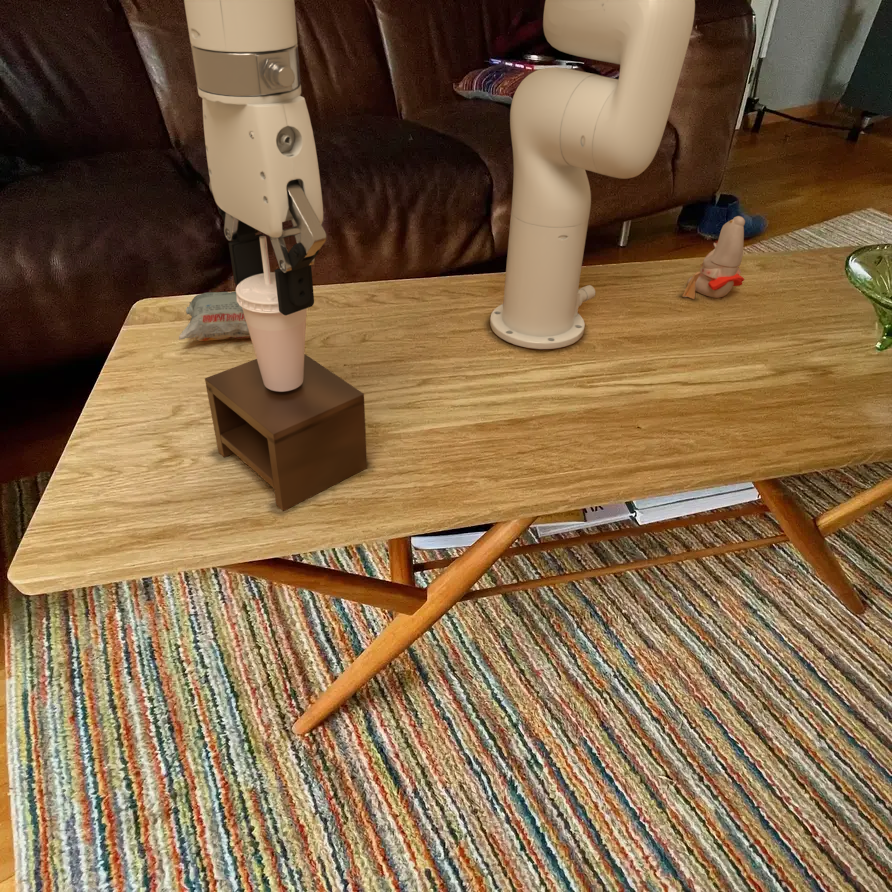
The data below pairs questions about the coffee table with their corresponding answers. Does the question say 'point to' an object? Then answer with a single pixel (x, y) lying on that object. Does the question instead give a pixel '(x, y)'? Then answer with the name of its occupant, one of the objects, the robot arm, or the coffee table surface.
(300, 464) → the box
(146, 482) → the coffee table surface
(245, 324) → the packaged food
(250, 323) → the smoothie
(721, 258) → the figurine
